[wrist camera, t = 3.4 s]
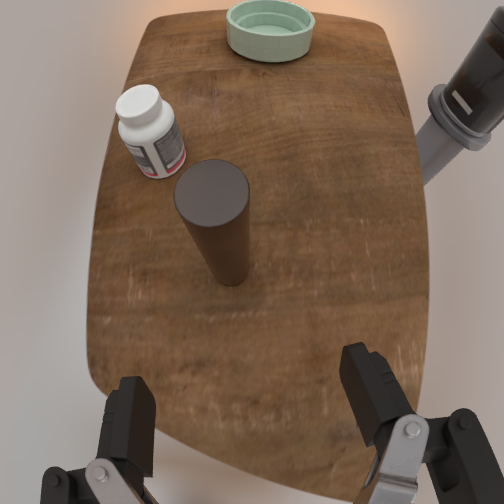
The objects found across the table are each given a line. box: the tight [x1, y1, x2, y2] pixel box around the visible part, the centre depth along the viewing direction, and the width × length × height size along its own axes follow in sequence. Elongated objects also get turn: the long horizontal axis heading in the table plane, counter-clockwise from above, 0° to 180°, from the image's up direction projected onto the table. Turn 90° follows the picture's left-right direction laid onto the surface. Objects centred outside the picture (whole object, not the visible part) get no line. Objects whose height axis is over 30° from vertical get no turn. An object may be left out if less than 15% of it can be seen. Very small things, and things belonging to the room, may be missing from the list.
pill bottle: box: [116, 85, 186, 179], centre depth 26 cm, size 5×5×10 cm
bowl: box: [226, 0, 315, 62], centre depth 34 cm, size 12×12×6 cm
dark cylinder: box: [173, 159, 250, 286], centre depth 20 cm, size 3×3×16 cm
